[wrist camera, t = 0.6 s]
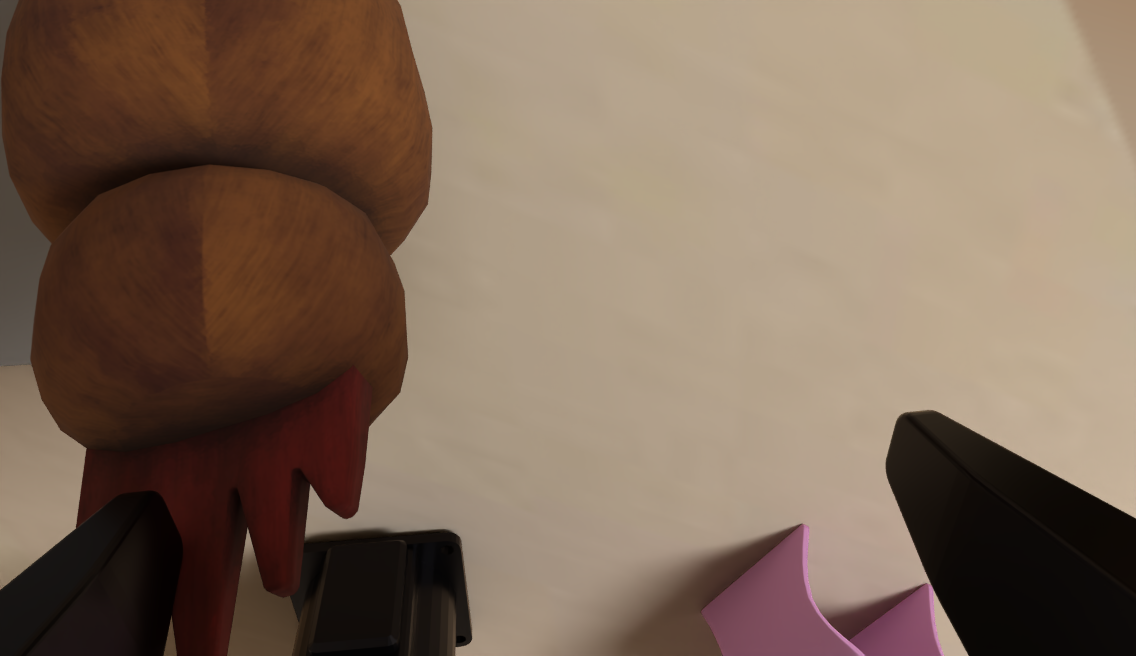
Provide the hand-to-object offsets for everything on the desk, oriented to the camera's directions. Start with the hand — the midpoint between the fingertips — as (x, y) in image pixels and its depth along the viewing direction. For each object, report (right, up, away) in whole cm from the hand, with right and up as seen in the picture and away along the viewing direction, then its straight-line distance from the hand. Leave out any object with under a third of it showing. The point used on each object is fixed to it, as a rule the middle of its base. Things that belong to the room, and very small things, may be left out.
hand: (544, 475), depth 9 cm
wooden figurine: (-7, +9, +7) cm, 14 cm away
